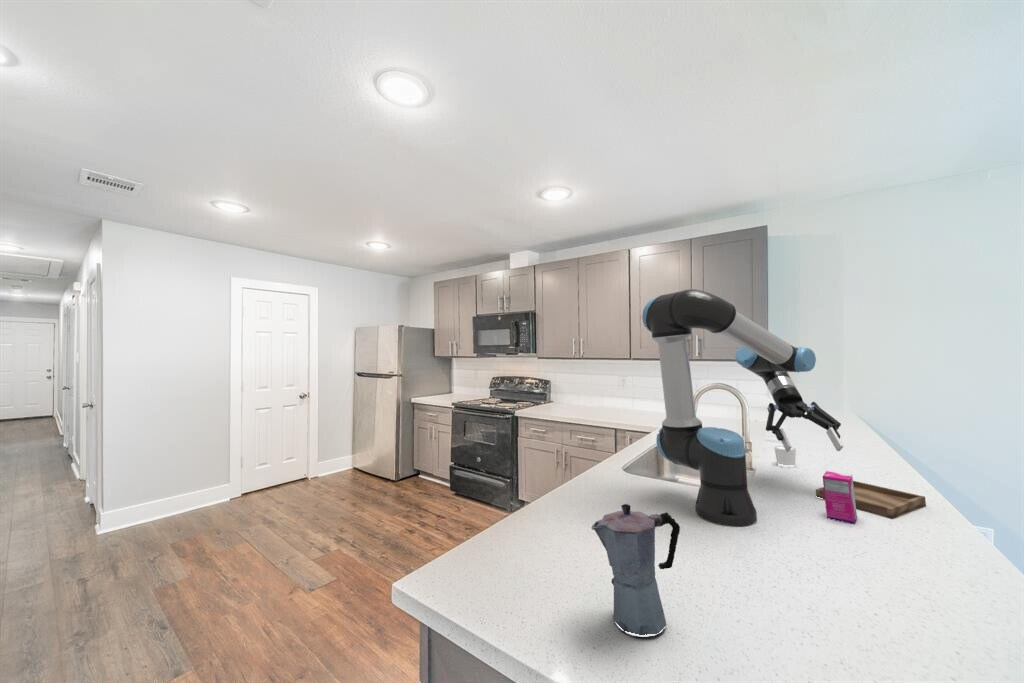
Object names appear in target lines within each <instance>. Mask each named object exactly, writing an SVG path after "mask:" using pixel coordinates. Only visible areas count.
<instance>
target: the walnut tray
mask: <svg viewBox="0 0 1024 683" xmlns="http://www.w3.org/2000/svg"><path fill="white" fill-rule="evenodd" d="M853 486H854V495H855V503H856V510H859V511H863V512H867V513H870V514H874V515H877V516H881V517H884V518H888V519H891V520H893V519H896V518H898V517H901V516H904V515H906V514H908V513H911V512H914V511H916V510H918V509H922V508H924V507H926V506H927V502H926V501H927V500H926V496H922V495H919V494H914V493H910V492H905V491H901V490H897V489H892V488H889V487H888V488H887V487H884V486H879V485H874V484H870V483H866V482H862V481H856V480H853ZM816 496H817V497H820V498H823V499H825V494H824V486H823V487H819V488H815V497H816ZM823 499H822V500H823Z"/></svg>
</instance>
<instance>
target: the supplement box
mask: <svg viewBox="0 0 1024 683" xmlns="http://www.w3.org/2000/svg"><path fill="white" fill-rule="evenodd" d="M853 478H854V477H853V473H845V472H835V471H829V470H826V471H825V472H824V474H823V475H822V483H823V484H822V485H823V487H824V494H825V500H824V502H825V512H826V518H827V519H828V518H830V519H829V520H832V519H835V520H834V521H837V520H839V521H838V522H842V521H843V523H846V524H851V525H855V524H856V521H857V519H858V513H857V509H856V503H855V495H854V486H853V481H854V479H853Z"/></svg>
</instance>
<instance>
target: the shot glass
mask: <svg viewBox="0 0 1024 683" xmlns="http://www.w3.org/2000/svg"><path fill="white" fill-rule="evenodd" d="M796 452H797V449H796V448H795V447H793V446H792V447H791V449H790V451H789V452H786V450H785V448H784V446H781V445H778V446H774V453H775V459H776V464H777V463H779V464H783V465H795V466H796V455H797V454H796Z"/></svg>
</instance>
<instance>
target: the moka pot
mask: <svg viewBox="0 0 1024 683" xmlns="http://www.w3.org/2000/svg"><path fill="white" fill-rule="evenodd" d="M620 507H621V509H622V510H617V511H615V512H614V511H613V512H610V513H607V514H604V515H603V517H602V519H598V520H596V521H595V523H593V524H592V525H591V530H592V531H594V532H595V533H596V535H597V537H598V539H599V541H600V542H601V544H602V546H603V547H604V549H605V551H606V556H607V560H608V563H609V566H610V567H611V571H612V575H613V578H611V584H612V585H613V622H614V621H615V622H616V623H617V624H618V625H619V626H620V627H621V628H622V629H623V630H624V631H627V632H631V633H635V634H639V635H645V634H646V635H647V634H657V633H659V632H660V631H661V630H662V629H663V628H664V627H665V626H666V627H667V620H666V617H665V616H666V615H665V612H664V608H663V602H662V600H661V596H660V595H661V594H660V593H659V586H658V582H657V579H656V565H655V560H656V556H655V555H656V554H655V553H656V552H655V551H656V528H657V527H658V528H660V527H663V526H664V525H666V524H667V525H668V524H669V525H670V526H671V527H672V528H671V531H670V540H669V546H668V553H667V558H666V560H665V562H660V563H658V565H657V566H658V567H659V570H665V569H670V568H673V565H674V563H673V562H674V560H675V559H674V558H675V554H676V548H677V544H678V539H679V534H680V531H681V530H680V529H681V526H680V524H679V523H678V522H677V521H676V519H675V518H673V517H672V515H671V514H669V513H668V511H666V512H664V513H659V514H658V513H656V514H655V513H654V514H650V515H648V514H646V513H644V512H641V511H633V510H632V511H631V505H630V504H627V503H625V504H621V506H620ZM666 627H665V628H666Z"/></svg>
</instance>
